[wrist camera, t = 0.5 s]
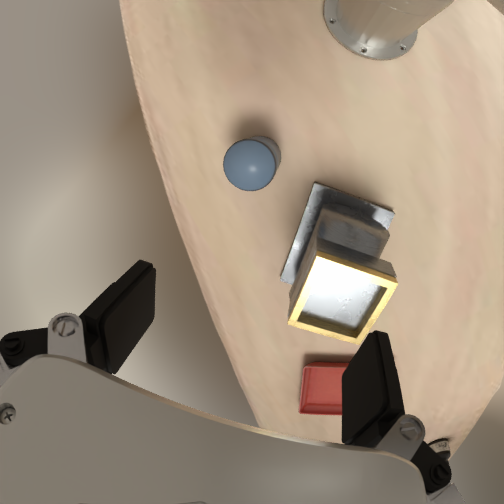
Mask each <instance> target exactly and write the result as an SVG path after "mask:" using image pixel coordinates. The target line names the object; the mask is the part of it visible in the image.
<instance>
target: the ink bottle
mask: <svg viewBox="0 0 504 504" xmlns="http://www.w3.org/2000/svg"><path fill="white" fill-rule="evenodd" d="M428 445H429V446H430V447H431V448H432V449H433V450H434V451H435V452H436V453H437V454H438V455H439V456H440V457H441V458H443V459H444V460H445V461H446V462H447V463H448V465H449V462H448V458H449V457H450V447H449V442H448V440H447V439H440V440H436V441H434V442H431V443H430V444H428Z"/></svg>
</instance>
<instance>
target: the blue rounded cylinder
mask: <svg viewBox="0 0 504 504" xmlns="http://www.w3.org/2000/svg"><path fill="white" fill-rule="evenodd" d="M280 162H281V152H280V149H279V147H278V146H277V144H276V143H275V142H274V141H273V140H271V139H269V138H267V137H264V136H255V137H252V138H249V139H243V140H240V141H238V142H236V143H234V144H233V145H232V146H231V147H230V148H229V149H228V150H227V152H226V154H225V157H224V161H223V167H224V172H225V175H226V177H227V178H228V180H229V181H230V182H231V183H232V184H233V185H234V186H236V187H237V188H239V189H242V190H245V191H256V190H260V189H262V188H264V187H266V186H267V185H268V184H269V183H270V182H271V181H272V179H273V177H274V176H275V173H276V171H277V169H278V167H279V165H280Z"/></svg>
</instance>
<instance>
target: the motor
mask: <svg viewBox="0 0 504 504" xmlns="http://www.w3.org/2000/svg"><path fill="white" fill-rule="evenodd" d="M394 214H395V213H394V212H393V211H391V210H389V209H387V208H384V207H382V206H379V205H377V204H374V203H372V202H369V201H366V200H364V199H361V198H359V197H356V196H353V195H351V194H348V193H345V192H342V191H340V190H337V189H334V188H331V187H328V186H326V185H323V184H320V183H317V182H314V184H313V187H312V190H311V193H310V196H309V199H308V202H307V205H306V208H305V211H304V214H303V217H302V219H301V222H300V225H299V228H298V231H297V234H296V237H295V239H294V242H293V245H292V248H291V250H290V253H289V256H288V259H287V261H286V264H285V267H284V270H283V272H282V275H281V278H280V281H282V282H285V283H288V284H292V287H291V289H290V292H289V297H290V305H289V311H288V323H287V324H288V325H291V326H295V327H298V328H301V329H305V330H308V331H311V332H315V333H318V334H322V335H325V336H329V337H332V338H336V339H340V340H343V341H347V342H351V343H354V344H358V345H360V343H361V342H362V341H363V339H364V338H365V336H366V335H367V333H368V332H369V330H370V329H371V327H372V326H373V324H374V323H375V321H376V319H377V318H378V316H379V315H380V313H381V312H382V310H383V308H384V307H385V305H386V304H387V302H388V300H389V299H390V297H391V295H392V294H393V292H394V290H395V288H396V287H397V285H398V282H397V280H396V277H397V276H396V274H395V272H394V269H393V267H392V264H391V263H390V262H387V261H385V260H382V259H379V257H380V255H381V253H382V251H383V249H384V247H385V245H386V243H387V241H388V239H389V236H390V234H389V232H388V228H389V226H390V223H391V221H392V219H393V217H394Z"/></svg>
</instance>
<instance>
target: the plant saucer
mask: <svg viewBox="0 0 504 504" xmlns="http://www.w3.org/2000/svg"><path fill="white" fill-rule="evenodd" d="M348 365H349V363H334V362H313V363H310V364H308V365H306V366H305V367H304V368H303V374H302V384H301V394H300V403H299V411H298V412H299V413H300V414H314V415H342V374H343V372H344V371H345V369H346V368H347V366H348Z"/></svg>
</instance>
